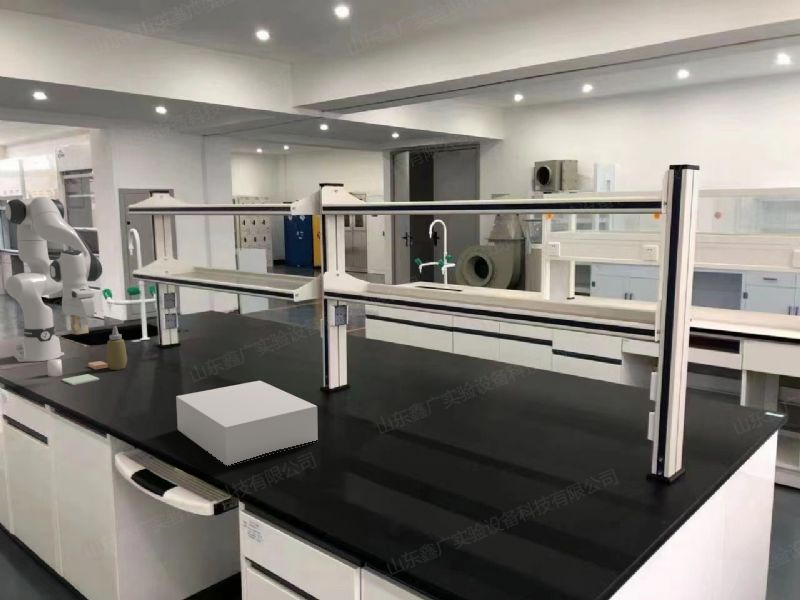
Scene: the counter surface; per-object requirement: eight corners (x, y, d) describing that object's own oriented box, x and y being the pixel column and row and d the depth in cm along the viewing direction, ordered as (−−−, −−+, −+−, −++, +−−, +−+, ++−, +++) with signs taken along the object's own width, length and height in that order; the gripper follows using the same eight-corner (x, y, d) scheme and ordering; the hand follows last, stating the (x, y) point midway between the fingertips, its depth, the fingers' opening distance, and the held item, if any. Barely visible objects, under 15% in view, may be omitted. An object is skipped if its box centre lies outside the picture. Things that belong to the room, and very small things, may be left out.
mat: (61, 380, 240) (61, 379, 240) (88, 375, 247) (87, 374, 247) (72, 385, 233) (72, 383, 233) (99, 379, 241) (99, 378, 241)
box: (260, 412, 203) (259, 380, 202) (317, 442, 177) (317, 406, 175) (177, 431, 186) (176, 396, 184) (227, 467, 159) (225, 427, 158)
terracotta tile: (88, 367, 262) (88, 363, 261) (100, 365, 265) (100, 361, 265) (95, 370, 257) (95, 365, 257) (107, 368, 261) (107, 363, 260)
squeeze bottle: (102, 369, 257) (99, 327, 254) (119, 365, 264) (116, 324, 261) (115, 371, 253) (112, 328, 251) (132, 367, 260) (129, 325, 258)
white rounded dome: (46, 375, 248) (45, 360, 247) (59, 372, 252) (58, 358, 251) (51, 377, 245) (50, 362, 244) (64, 374, 248) (63, 360, 248)
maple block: (71, 333, 240) (69, 315, 239) (83, 331, 243) (81, 314, 242) (76, 334, 237) (75, 316, 236) (88, 332, 241) (87, 314, 240)
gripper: (55, 291, 242) (59, 326, 244) (79, 294, 229) (82, 330, 231) (72, 289, 247) (75, 323, 249) (96, 292, 234) (99, 328, 236)
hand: (79, 327), depth 240 cm, fingers closed on maple block, 4 cm apart
